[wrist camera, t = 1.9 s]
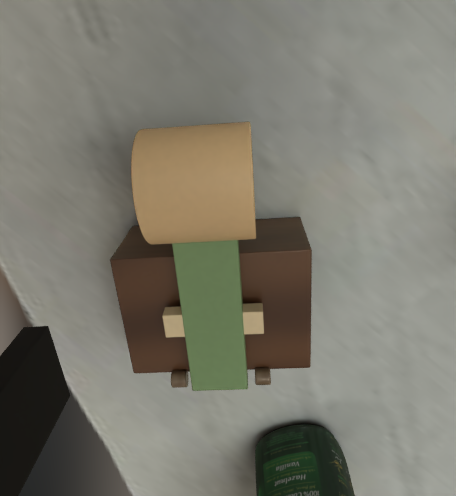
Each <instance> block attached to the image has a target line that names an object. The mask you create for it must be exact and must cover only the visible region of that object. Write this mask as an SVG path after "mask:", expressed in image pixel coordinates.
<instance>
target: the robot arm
mask: <svg viewBox="0 0 456 496" xmlns="http://www.w3.org/2000/svg"><path fill="white" fill-rule="evenodd" d="M69 397H70V393H69V390H68V387H67V384H66V381H65V378H64V375H63V371H62V368H61V365H60V362H59V359H58V356H57V353H56V349H55V346H54V343H53V340H52V337H51V334H50V331H49V328H48V326H41V327H24V328H23V329H22V330H21V331H20V333H19V334H18V335H17V336H16V338H15V339H14V340H13V341H12V342H11V344H10V345H9V346H8V347H7V349H6V350H5V351H4V352H3V353H2V355H1V356H0V496H18V495H19V493H20V492H21V490H22V488H23V486H24V484H25V482H26V480H27V478H28V476H29V474H30V472H31V470H32V468H33V466H34V464H35V463H36V461H37V459H38V457H39V455H40V453H41V451H42V449H43V447H44V445H45V443H46V441H47V439H48V437H49V435H50V433H51V432H52V429H53V428H54V426H55V424H56V422H57V420H58V418H59V416H60V414H61V412H62V410H63V408H64V406H65V404H66V402H67V401H68V399H69Z"/></svg>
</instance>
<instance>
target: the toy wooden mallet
mask: <svg viewBox="0 0 456 496" xmlns="http://www.w3.org/2000/svg"><path fill="white" fill-rule="evenodd" d="M131 181H132V193H133V200H134V207H135V212H136V216H137V220H138V224H139V227H140V230H141V232H142V235H143V237H144V238H145V240H146V241H147V242H148V243H149V244H172V247H173V255H174V262H175V269H176V276H177V283H178V290H179V297H180V305H181V306H179V307H165V310H164V313H163V316H162V317H163V323H164V329H165V335H166V337H185V340H186V347H187V354H188V362H189V369H190V376H191V383H192V390H193V391H199V390H233V389H247V388H248V373H247V359H246V344H245V334H264V321H263V304H262V303H250V304H243V300H242V285H241V271H240V256H239V241H238V240H248V239H256V222H255V200H254V180H253V161H252V142H251V125H250V122H238V123H224V124H210V125H195V126H181V127H167V128H153V129H141V130H139V131H138V132H137V134H136V136H135V139H134V143H133V148H132V157H131Z"/></svg>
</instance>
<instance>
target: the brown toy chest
mask: <svg viewBox="0 0 456 496" xmlns="http://www.w3.org/2000/svg"><path fill="white" fill-rule="evenodd" d="M255 222H256V239H248V240H238V241H239V256H240V271H241V285H242V300H243V304H250V303H262V304H263V321H264V334H245V344H246V359H247V370H248V369H255V383H256V385H270V384H271V378H270V369H279V368H309V367H310V354H311V261H312V250H311V247H310V244H309V241H308V238H307V235H306V233H305V230H304V227H303V224H302V221H301V218H300V217H293V218H275V219H257V220H255ZM110 262H111V267H112V272H113V276H114V281H115V286H116V291H117V295H118V300H119V305H120V310H121V314H122V319H123V324H124V329H125V333H126V338H127V343H128V348H129V352H130V357H131V362H132V367H133V371H134V373H157V372H172V373H171V385H172V387H173V388H174V387H187V386H188V372H187V371H190V369H189V362H188V354H187V347H186V340H185V337H166V335H165V329H164V323H163V317H162V316H163V313H164V310H165V307H179V306H181V305H180V297H179V290H178V283H177V276H176V269H175V262H174V255H173V247H172V244H149V243H148V242H147V241H146V240H145V238H144V237H143V235H142V232H141V230H140V227H139V226H133V227H132V228H131V229H130V231H129V232H128V234H127V235H126V237H125V238H124V240H123V241H122V243H121V244H120V246H119V247H118V249H117V250H116V252H115V253H114V255H113V256H112V258H111V259H110Z"/></svg>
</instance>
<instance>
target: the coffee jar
mask: <svg viewBox="0 0 456 496" xmlns="http://www.w3.org/2000/svg"><path fill="white" fill-rule="evenodd" d="M255 466H256V491H257V496H355V495H354V491H353V487H352V483H351V479H350V475H349V471H348V467H347V463H346V460H345V457H344V455H343V452H342V450H341V448H340V446H339V444H338V442H337V441H336V439H335V438H334V436H333V435H332V433H331V432H329V431H328V430H327V429H325V428H324V427H320V426H316V425H293V426H287V427H284V428H281V429H278V430H275V431H274V432H272V433H269V434H267V435H266V436H264V437H263V438H262V439H261V440H260V441H259V442H258V444H257V446H256V450H255Z"/></svg>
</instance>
